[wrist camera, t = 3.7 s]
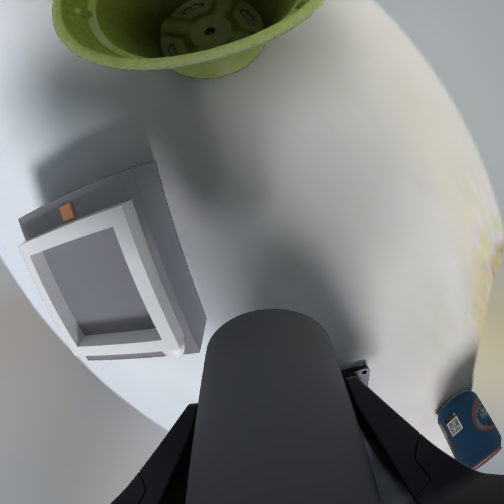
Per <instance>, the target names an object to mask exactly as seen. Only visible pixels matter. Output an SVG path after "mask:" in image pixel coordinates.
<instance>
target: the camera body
mask: <svg viewBox="0 0 504 504" xmlns="http://www.w3.org/2000/svg"><path fill="white" fill-rule="evenodd" d="M18 220H19V223H20V226H21V229H22V232H23V234H24V237H25V240H26V241H25V242H24V243H22V244H21V245H19V246H18V248H19V250H20V253H21V255H22V258H23V260H24V262H25V265H26V267H27V269H28V272H29V274H30V276H31V278H32V280H33V283H34V285H35V287H36V289H37V291H38V293H39V295H40V297H41V299H42V301H43V303H44V305H45V306H46V308H47V310H48V312H49V314H50V316H51V317H52V319H53V321H54V323H55V324H56V326H57V328H58V329H59V331H60V333H61V334H62V336H63V338H64V339H65V341H66V342H67V344H68V345H69V347H70V349H71V350H72V352H73V353H74V355H75V356H86V358H87V359H88V360H117V359H136V358H150V357H162V356H168V357H171V358H179V357H181V356H182V355H183V354H191V353H200V349H201V344H202V339H203V334H204V329H205V324H206V319H207V318H206V316H205V313H204V310H203V308H202V305H201V303H200V300H199V297H198V294H197V292H196V289H195V286H194V283H193V281H192V278H191V275H190V272H189V269H188V266H187V263H186V261H185V258H184V255H183V252H182V249H181V246H180V243H179V240H178V236H177V233H176V230H175V227H174V224H173V221H172V218H171V214H170V211H169V208H168V204H167V201H166V198H165V194H164V191H163V187H162V184H161V180H160V177H159V173H158V170H157V166H156V162H155V161H154V162H150V163H146V164H143V165H139V166H135V167H132V168H129V169H126V170H124V171H121V172H118V173H116V174H113V175H111V176H108V177H106V178H103V179H101V180H98V181H96V182H94V183H91V184H89V185H86V186H84V187H82V188H80V189H77V190H75V191H73V192H71V193H69V194H66V195H64V196H62V197H60V198H58V199H56V200H54V201H52V202H50V203H48V204H46V205H44V206H42V207H40V208H38V209H36V210H34V211H32V212H30V213H28V214H27V215H25V216H23V217H21V218H19V219H18Z"/></svg>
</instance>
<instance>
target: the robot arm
mask: <svg viewBox="0 0 504 504" xmlns="http://www.w3.org/2000/svg"><path fill="white" fill-rule="evenodd" d="M369 372H370V370H369V368H368V366H366V365H364V366H360V367H357V368H353V369H350V370H346V371H342V372H341V373H342V376H343V379H344V382H345V385H346V388H347V391H348V394H349V396H350V399H351V403H352V406H353V409H354V412H355V415H356V418H357V421H358V424H359V427H360V430H361V434H362V437H363V440H364V443H365V447H366V450H367V453H368V457H369V460H370V463H371V467H372V470H373V474H374V477H375V481H376V485H377V488H378V492H379V496H380V500H381V503H382V504H504V475H497V474H496V475H495V474H487V473H481V472H478V471H475V470H473V469H471V468H469V467H468V466H466V465H464V464H463V463H461V462H459V461H458V460H456V459H454V458H453V457H451V456H449V455H448V454H446V453H445V452H443V451H442V450H440V449H439V448H437V447H436V446H435V445H433V444H432V443H431V442H430V441H428V440H427V439H426V438H425V437H424V436H423V435H422V434H419V432H418V431H417V430H416V429H415V428H413V427H412V426H411V425H410V424H409V423H408V422H407V421H405V420H404V419H403V418H402V417H401V416H400V415H399V414H398V413H396V412H395V411H394V410H393V409H392V408H391V407H390V406H389V405H387V404H386V403H385V402H384V401H383V400H382V399H381V398H380V397H379V396H377V395H376V394H375V393H374V392H373V391H372V390H371V389H370V388H369V387H368V381H369ZM197 408H198V403H193V404H189V405H188V406H187V407H186V409H185V410H184V412H183V413H182V414H181V416H180V417H179V419H178V420H177V421H176V423H175V424H174V426H173V427H172V428H171V430H170V431H169V432H168V434H167V435H166V437H165V438H164V439H163V441H162V442H161V443H160V445H159V446H158V448H157V449H156V450H155V452H154V453H153V454H152V455H151V457H150V458H149V460H148V461H147V462H146V464H145V465H144V467H142V469H141V470H140V472H139V473H138V474H137V475H136V476H135V478H134V479H133V480H132V481H131V483H130V484H129V485H128V487H127V488H126V489H125V490H124V491H123V492H122V493H121V494H120V495H119V496H118V497H117V498H116V499H115V500H114V501H113V502H112V503H111V504H185V503H186V494H187V485H188V476H189V468H190V460H191V452H192V444H193V437H194V430H195V422H196V415H197Z"/></svg>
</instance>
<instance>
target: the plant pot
mask: <svg viewBox="0 0 504 504" xmlns="http://www.w3.org/2000/svg"><path fill="white" fill-rule="evenodd" d="M324 1H325V0H53V6H52V19H53V25H54V28H55V31H56V33H57V35H58V37H59V38H60V40H61V42H62V43H63V44H64V45H65V47H66V48H67V49H68V50H70V51H71V52H73V53H74V54H75V55H77V56H79V57H80V58H82V59H85V60H87V61H89V62H92V63H95V64H98V65H102V66H105V67H111V68H116V69H124V70H138V71H145V70H165V69H171V70H174V71H176V72H178V73H181V74H183V75H186V76H190V77H195V78H204V79H208V78H218V77H222V76H226V75H230V74H232V73H234V72H237V71H239V70H240V69H242V68H243V67H245V66H246V65H248V64H249V63H250V62H251V61H253V60H254V58H255V57H256V56H257V55H258V54H259V52H260V51H261V50H262V48H263V47H264V45H265V44H266V43H267V42H268V41H270V40H272V39H274V38H276V37H278V36H280V35H282V34H284V33H286V32H288V31H289V30H291V29H293V28H294V27H296V26H297V25H298V24H300V23H301V22H303V21H304V20H306V19H307V18H308V17H309V16H311V15H312V14H313V13H314V12H315V11H316V10H317V9H318V8H319V7H320V6H321V5H322V4H323V2H324ZM198 3H203V4H204V5H203V6H201V7H198V8H195V9H193V10H191V11H189V12H187V13H186V14H183V11H184V10H186V9H187V8H189V7H191V6H193V5H195V4H198ZM241 10H245V11H247V12H249V13H250V15H251V17H252V18H253V20H254V25H253V26H250V25H249V24H248V22H247V20H246V18H245V17H244V15H243V14H241V12H240V11H241ZM208 28H214V29H215V32H214V33H213V34H211V35H208V34H206V33H205V32H206V30H207V29H208ZM171 43H172V44H174V47H175V49H176V51H177V53H178V54H179V55H178V56H172V54H171V53H170V51H169V45H170V44H171Z"/></svg>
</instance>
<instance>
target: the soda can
mask: <svg viewBox="0 0 504 504" xmlns="http://www.w3.org/2000/svg"><path fill="white" fill-rule="evenodd" d="M438 424H439V426H440V428H441V430H442V432H443V434H444V436H445V438H446V440H447V442H448V444H449V447H450V449H451V451H452V453H453V455H454V458H455V459H456V460H458V461H459V462H461V463H463V464H464V465H466V466H468V467H469V468H471V469H473V470H476V469H477V468H479V467H480V466H482V465H483V464H484V463H486V462H487V461H488V460H490V459H491V458H492V457H493V456H494V455H495V454H497V453H498V452H499V451H500V450H501V448H502V447H501V436H500V434H499V432H498V430H497V428H496V426H495V425H494V423H493V421H492V419H491V418H490V416H489V414H488V413H487V411H486V409H485V408H484V406H483V404H482V403H481V401H480V400H479V398H478V397H477V395H476V394H475V393H474V392H472V391H468V390H464V391H461V392H459V393H458V394H456V395H455V396H453V397H452V398H451V399H449V400H448V401H447V402H446V403H445V404H444V405H443V406H442V407H441V409H440V410H439V414H438Z"/></svg>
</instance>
